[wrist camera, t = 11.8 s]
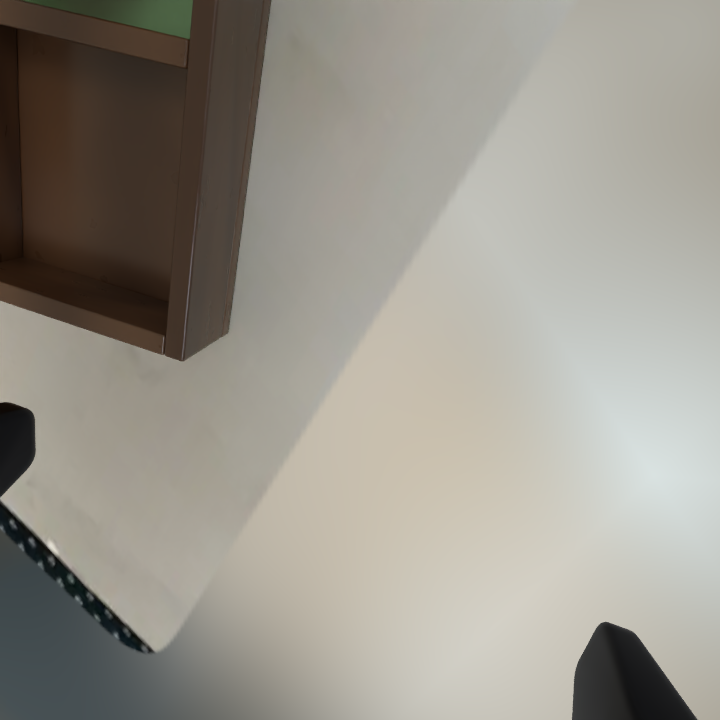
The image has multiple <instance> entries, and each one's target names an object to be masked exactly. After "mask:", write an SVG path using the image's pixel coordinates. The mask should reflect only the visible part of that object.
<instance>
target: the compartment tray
mask: <svg viewBox="0 0 720 720" xmlns="http://www.w3.org/2000/svg"><path fill="white" fill-rule="evenodd" d="M270 3H271V0H0V301H3V302H6V303H9V304H12V305H15V306H18V307H21V308H24V309H27V310H30V311H33V312H36V313H39V314H42V315H45V316H48V317H51V318H54V319H57V320H60V321H63V322H66V323H69V324H72V325H75V326H78V327H81V328H84V329H87V330H89V331H92V332H95V333H98V334H101V335H104V336H107V337H110V338H113V339H116V340H119V341H122V342H125V343H128V344H131V345H134V346H137V347H140V348H143V349H146V350H149V351H152V352H155V353H158V354H161V355H164V354H165V356H167V357H170V358H173V359H176V360H179V361H185V360H186V359H188V358H189V357H191V356H192V355H194V354H196V353H197V352H199V351H200V350H202V349H203V348H205V347H207V346H208V345H210V344H211V343H213V342H214V341H216V340H217V339H219V338H220V337H223V336H224V335H226V334H227V333H228V330H229V322H230V314H231V306H232V299H233V291H234V283H235V275H236V267H237V260H238V252H239V244H240V236H241V229H242V221H243V213H244V205H245V197H246V190H247V182H248V174H249V166H250V159H251V151H252V143H253V135H254V127H255V120H256V112H257V104H258V96H259V89H260V81H261V73H262V65H263V58H264V50H265V42H266V34H267V26H268V19H269V11H270Z"/></svg>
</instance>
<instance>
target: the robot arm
mask: <svg viewBox="0 0 720 720" xmlns="http://www.w3.org/2000/svg"><path fill="white" fill-rule="evenodd" d="M35 452H36V448H35V418H34V415H33V413H32V412H31V411H30V410H29V409H27V408H24V407H21V406H19V405H16V404H13V403H8V402H4V403H0V497H1V496H2V495H3V494H4V493H5V492H6V491H7V490H8V489H9V488H10V487H11V486H12V485H13V484H14V483H15V481H16V480H17V479H18V478H19V477H20V476H21V475H22V474H23V473H24V472H25V471H26V470H27V469H28V468H29V467H30V465H31V464H32V462H33V460H34V457H35ZM574 678H575V679H574V694H573V713H572V720H697V718H696V717H695V716H694V714H693V713H692V712H691V710H690V709H689V707H688V706H687V705H686V703H685V702H684V700H683V699H682V698H681V696H680V695H679V693H678V692H677V691H676V689H675V688H674V686H673V685H672V684H671V682H670V681H669V679H668V678H667V677H666V675H665V674H664V672H663V671H662V670H661V668H660V667H659V665H658V664H657V663H656V661H655V660H654V659H653V657H652V656H651V654H650V653H649V652H648V650H647V649H646V647H645V646H644V645H643V643H642V642H641V640H640V639H639V638H638V637H637V635H636V634H635V633H633V632H632V631H630V630H628V629H625V628H622V627H619V626H617V625H614V624H611V623H609V622H603V623H601V624H600V625H599V626H598V627H597V628H596V630H595V632H594V633H593V635H592V637H591V639H590V641H589V643H588V645H587V646H586V649H585V650H584V652H583V654H582V656H581V658H580V659H579V661H578V664H577V667H576V671H575V677H574Z"/></svg>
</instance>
